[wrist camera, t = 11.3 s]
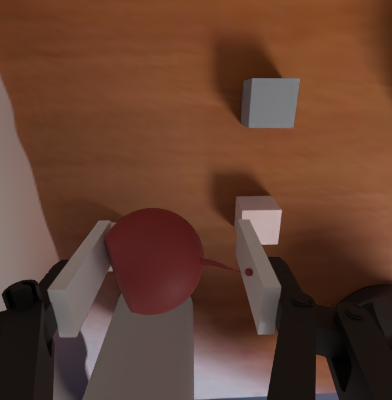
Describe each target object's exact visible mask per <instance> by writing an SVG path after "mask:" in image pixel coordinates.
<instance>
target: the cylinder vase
mask: <svg viewBox="0 0 392 400" xmlns="http://www.w3.org/2000/svg"><path fill="white" fill-rule="evenodd" d="M83 400H194V343H193V302H192V299H191V296H190V297H189V298H188V299H187V300H186V301H185V302H184V303H182V304H181V305H180V306H178V307H177V308H175V309H173V310H171V311H168V312H165V313H162V314H157V315H141V314H136V313H133V312H131V311H130V310H129V308H128V306H127V304H126V302H125V300H124V298H123V295H122V293H121V294H120V297H119V299H118V302H117V305H116V308H115V311H114V313H113V316H112V319H111V322H110V325H109V327H108V330H107V333H106V336H105V339H104V341H103V344H102V347H101V350H100V352H99V355H98V358H97V361H96V364H95V366H94V369H93V372H92V375H91V378H90V380H89V383H88V386H87V389H86V392H85V394H84V397H83Z"/></svg>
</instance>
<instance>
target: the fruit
mask: <svg viewBox="0 0 392 400" xmlns="http://www.w3.org/2000/svg"><path fill="white" fill-rule="evenodd" d="M104 244H105V247H106V251H107V254H108V258H109V261H110V264H111V267H112V270H113V273H114V275H115V278H116V281H117V283H118V286H119V288H120V291H121V293H122V295H123V298H124V300H125V302H126V304H127V306H128V308H129V310H130V311H131V312H133V313H136V314H141V315H157V314H162V313H165V312H168V311H171V310H173V309H175V308H177V307H178V306H180V305H181V304H182V303H184V302H185V301H186V300H187V299H188V298H189V297H190V296H191V294H192V293H193V292H194V290H195V289H196V287H197V285H198V283H199V281H200V278H201V276H202V272H203V266H204V265H211V266H217V267H222V268H225V269H229V270H233V269H231V268H229V267H227V266H225V265H222V264H220V263H218V262H215V261H212V260H209V259H204V254H203V247H202V244H201V241H200V239H199V236H198V234H197V233H196V231H195V230H194V228H193V227H192V226H191V225H190V224H189V223H188V222H187V221H186V220H185V219H184V218H183V217H181V216H179V215H178V214H176V213H174V212H171V211H168V210H165V209H159V208H147V209H141V210H138V211H135V212H132V213H130V214H128V215H126V216H124V217H123V218H122V219H120V220H119V221H118V222H117V223H116V224H115V225H114V226H113V227H112V228H111V229H110V230H109V232H108V233H107V235H106V237H105V238H104ZM233 271H236V270H233ZM237 272H239V271H237ZM245 274H246V275H247V276H251V275H252V274H253V271H252V269H250V268H247V269H246V270H245Z"/></svg>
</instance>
